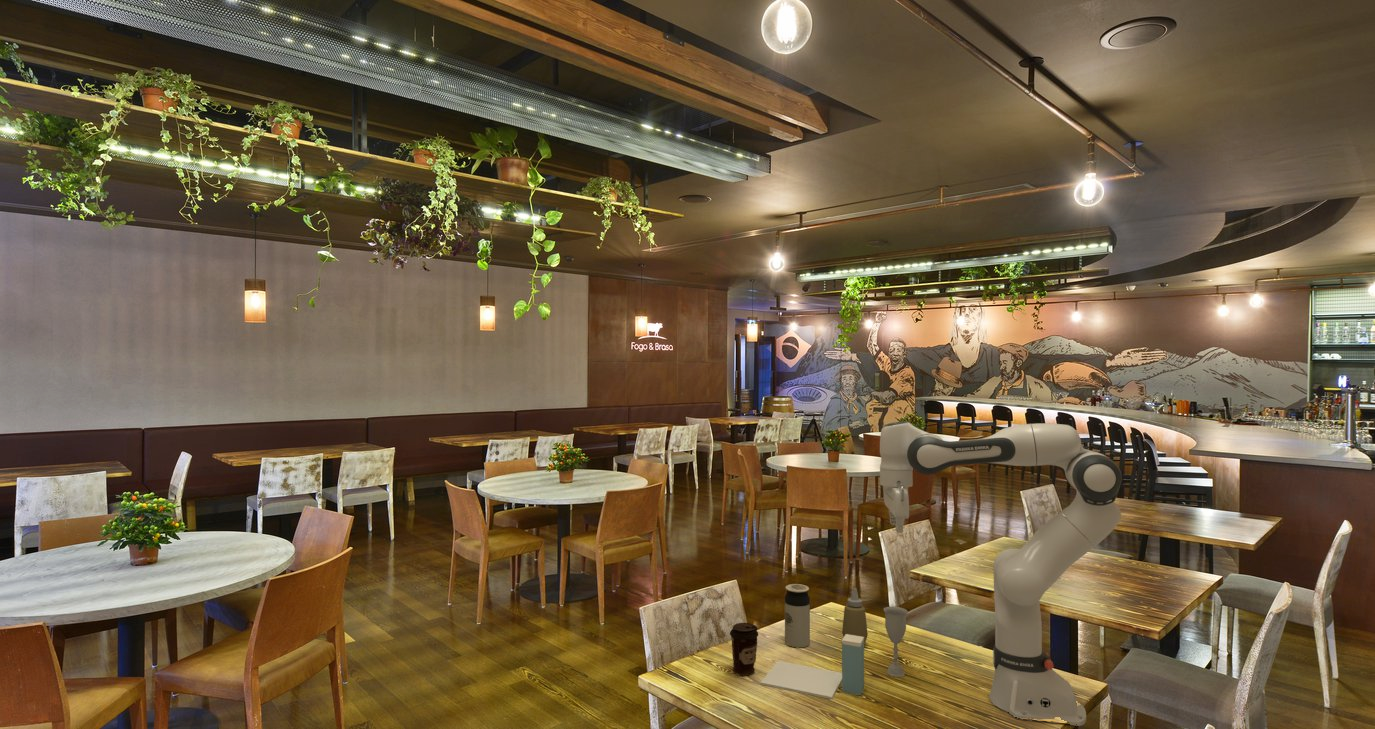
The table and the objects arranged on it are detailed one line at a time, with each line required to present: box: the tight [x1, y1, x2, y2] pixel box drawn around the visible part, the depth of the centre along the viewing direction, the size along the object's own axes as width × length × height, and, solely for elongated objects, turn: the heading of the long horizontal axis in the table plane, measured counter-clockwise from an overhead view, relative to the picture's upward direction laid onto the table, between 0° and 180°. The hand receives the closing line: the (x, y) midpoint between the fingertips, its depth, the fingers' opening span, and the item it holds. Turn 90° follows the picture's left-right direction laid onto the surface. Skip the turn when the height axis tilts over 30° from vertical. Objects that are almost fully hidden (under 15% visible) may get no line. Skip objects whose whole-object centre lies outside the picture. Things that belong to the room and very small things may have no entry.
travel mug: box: [784, 583, 811, 649], centre depth 219 cm, size 8×8×18 cm
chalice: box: [883, 606, 909, 678], centre depth 197 cm, size 7×7×18 cm
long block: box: [841, 634, 865, 696], centre depth 186 cm, size 5×5×14 cm
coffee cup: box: [729, 622, 759, 676], centre depth 198 cm, size 9×8×13 cm
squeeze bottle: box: [841, 587, 869, 646], centre depth 218 cm, size 8×8×18 cm
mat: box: [760, 660, 842, 700], centre depth 192 cm, size 20×16×1 cm
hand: (896, 528), depth 191 cm, fingers open, 8 cm apart
